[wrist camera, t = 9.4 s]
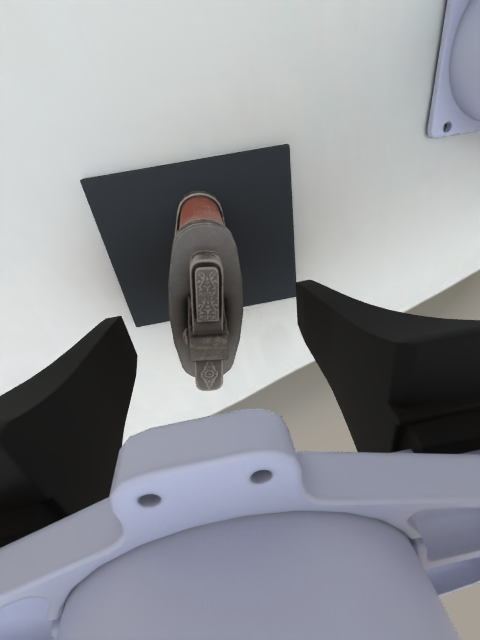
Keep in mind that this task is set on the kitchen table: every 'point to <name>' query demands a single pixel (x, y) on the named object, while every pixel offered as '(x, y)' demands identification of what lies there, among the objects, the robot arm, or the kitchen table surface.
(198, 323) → the lighter
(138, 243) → the mat
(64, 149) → the kitchen table surface
